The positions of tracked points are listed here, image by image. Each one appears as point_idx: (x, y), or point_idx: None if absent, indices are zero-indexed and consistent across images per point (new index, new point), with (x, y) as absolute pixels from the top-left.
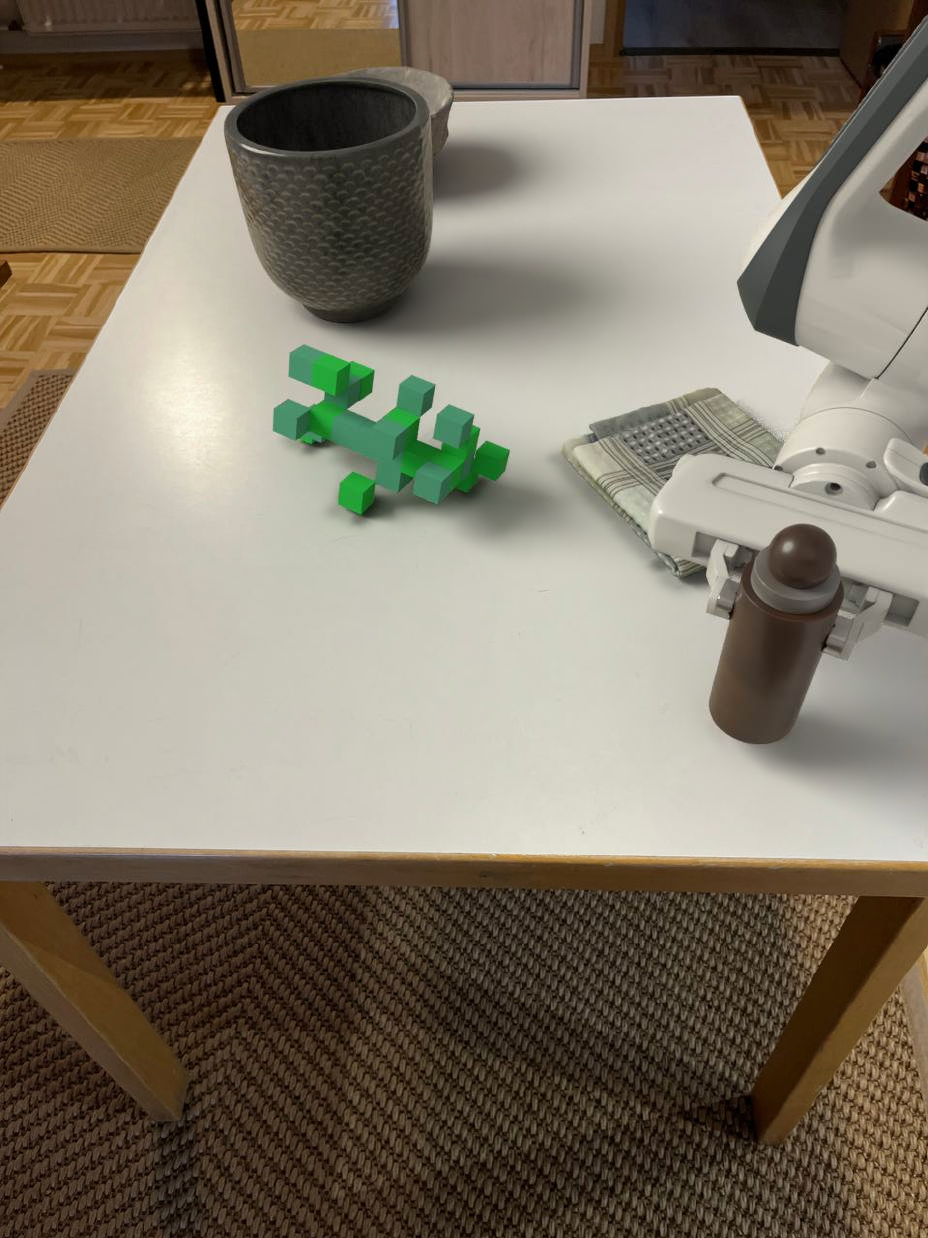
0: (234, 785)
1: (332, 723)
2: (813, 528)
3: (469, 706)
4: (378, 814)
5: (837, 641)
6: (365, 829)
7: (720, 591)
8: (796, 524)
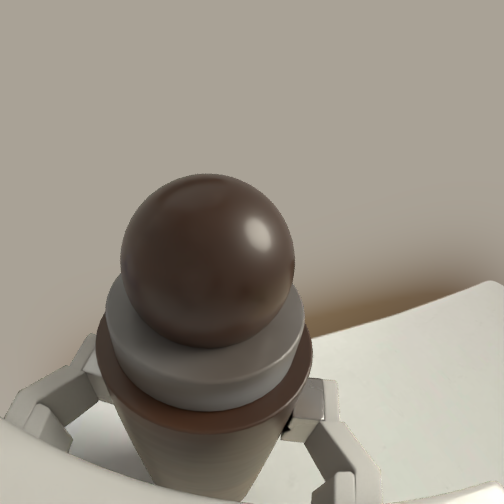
0: (474, 317)
1: (477, 360)
2: (200, 192)
3: (433, 409)
4: (418, 327)
5: None
6: (416, 319)
7: (324, 388)
8: (249, 224)
